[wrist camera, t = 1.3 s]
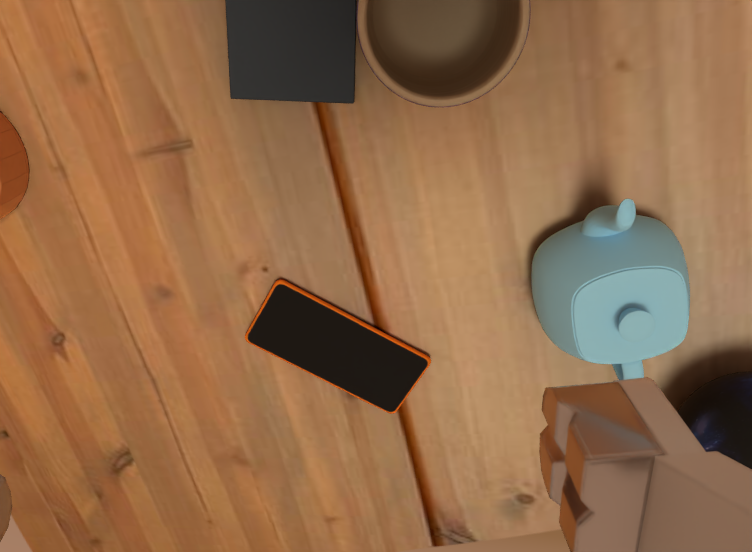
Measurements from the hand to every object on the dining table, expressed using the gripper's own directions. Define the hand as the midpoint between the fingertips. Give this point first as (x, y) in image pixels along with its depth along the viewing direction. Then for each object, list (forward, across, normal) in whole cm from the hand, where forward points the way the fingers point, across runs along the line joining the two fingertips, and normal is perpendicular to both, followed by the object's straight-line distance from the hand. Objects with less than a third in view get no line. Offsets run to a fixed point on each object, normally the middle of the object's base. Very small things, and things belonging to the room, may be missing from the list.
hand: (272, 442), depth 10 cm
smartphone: (+46, +1, +28) cm, 53 cm away
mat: (+47, +3, 0) cm, 47 cm away
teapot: (+44, -22, +20) cm, 54 cm away
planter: (+47, -8, -1) cm, 47 cm away
